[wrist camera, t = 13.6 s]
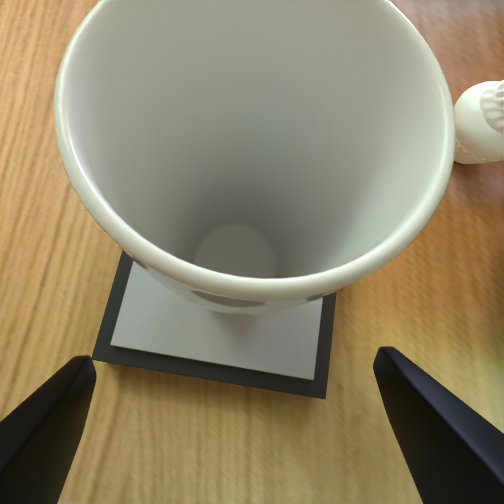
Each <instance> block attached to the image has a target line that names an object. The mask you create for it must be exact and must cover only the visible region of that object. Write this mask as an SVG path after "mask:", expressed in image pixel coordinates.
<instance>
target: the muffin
mask: <svg viewBox="0 0 504 504" xmlns="http://www.w3.org/2000/svg"><path fill="white" fill-rule="evenodd" d="M454 115H455V126H456V146H455V154H454V161H456V162H457V163H460V164H477V163H492V162H497V161H502V160H504V80H502V81H500V82H498V81H489V82H484V83H480V84H477V85H475V86H473V87H471V88H469V89H468V90H466V91H465V92H464V93H463V94H462V95H461V96H460V98H459V99H458V101H457V103H456V104H455V107H454Z"/></svg>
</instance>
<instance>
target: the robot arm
mask: <svg viewBox="0 0 504 504" xmlns="http://www.w3.org/2000/svg"><path fill="white" fill-rule="evenodd" d="M373 370H374V374H375V377H376V380H377V384H378V387H379V390H380V394H381V397H382V400H383V404H384V407H385V410H386V413H387V416H388V419H389V422H390V424H391V427H392V429H393V432H394V434H395V436H396V439H397V441H398V444H399V446H400V448H401V451H402V453H403V456H404V458H405V460H406V463H407V465H408V468H409V470H410V473H411V475H412V477H413V480H414V482H415V485H416V487H417V489H418V492H419V494H420V497H421V499H422V502H423V504H504V434H503V433H502V432H501V431H500V430H498V429H497V428H496V427H494V426H493V425H492V424H491V423H489V422H488V421H487V420H486V419H484V418H483V417H482V416H481V415H479V414H478V413H477V412H475V411H474V410H473V409H472V408H470V407H469V406H468V405H467V404H465V403H464V402H463V401H461V400H460V399H459V398H458V397H456V396H455V395H454V394H453V393H451V392H450V391H449V390H448V389H446V388H445V387H444V386H442V385H441V384H440V383H439V382H437V381H436V380H435V379H434V378H432V377H431V376H430V375H428V374H427V373H426V372H425V371H423V370H422V369H421V368H420V367H418V366H417V365H416V364H414V363H413V362H412V361H411V360H409V359H408V358H407V357H406V356H404V355H403V354H402V353H401V352H399V351H398V350H397V349H395V348H394V347H390V346H389V347H380V348H379V349H378V352H377V355H376V358H375V360H374V363H373ZM95 383H96V371H95V367H94V364H93V361H92V358H91V357H90V356H88V355H83V356H75V357H73V358H72V359H71V360H70V361H69V362H67V363H66V364H65V365H64V366H63V367H62V368H61V369H60V370H58V371H57V372H56V373H55V374H54V375H53V376H52V377H51V378H49V379H48V380H47V381H46V382H45V383H44V384H43V385H41V386H40V387H39V388H38V389H37V390H36V391H35V392H34V393H32V394H31V395H30V396H29V397H28V398H27V399H26V400H25V401H23V402H22V403H21V404H20V405H19V406H18V407H17V408H15V409H14V410H13V411H12V412H11V413H10V414H9V415H8V416H6V417H5V418H4V419H3V420H2V421H1V422H0V504H57V503H58V500H59V497H60V494H61V492H62V489H63V486H64V484H65V481H66V478H67V475H68V473H69V470H70V467H71V464H72V462H73V459H74V456H75V454H76V451H77V448H78V445H79V443H80V440H81V437H82V434H83V430H84V427H85V423H86V419H87V415H88V411H89V407H90V403H91V399H92V395H93V391H94V387H95Z"/></svg>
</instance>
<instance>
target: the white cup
mask: <svg viewBox="0 0 504 504" xmlns="http://www.w3.org/2000/svg"><path fill="white" fill-rule="evenodd" d="M53 118H54V130H55V136H56V141H57V146H58V151H59V154H60V157H61V160H62V163H63V166H64V169H65V172H66V174H67V176H68V178H69V180H70V182H71V184H72V187H73V189H74V191H75V192H76V194H77V195H78V197H79V199H80V200H81V202H82V204H83V205H84V207H85V208H86V210H87V211H88V212H89V213H90V215H91V216H92V217H93V218H94V220H95V221H96V222H97V224H98V225H99V226H100V227H101V228H102V229H103V230H104V231H105V232H106V233H107V234H108V235H109V236H110V237H111V238H112V239H113V240H114V241H115V242H116V243H117V244H118V245H119V246H120V247H121V248H122V249H123V250H124V251H125V252H126V253H127V254H128V255H129V256H130V257H131V258H132V259H133V260H134V261H135V262H136V263H137V264H138V265H139V266H140V267H141V268H142V269H143V270H144V271H145V272H147V273H148V274H149V275H150V276H151V277H153V278H154V279H155V280H156V281H157V282H159V283H160V284H161V285H163V286H164V287H165V288H167V289H168V290H170V291H171V292H173V293H174V294H176V295H178V296H179V297H181V298H183V299H185V300H187V301H189V302H190V303H193V304H195V305H197V306H200V307H202V308H205V309H208V310H211V311H214V312H218V313H223V314H228V315H238V316H258V315H267V314H274V313H278V312H283V311H287V310H291V309H294V308H297V307H300V306H303V305H306V304H309V303H311V302H314V301H316V300H318V299H321V298H323V297H325V296H327V295H329V294H332V293H334V292H336V291H338V290H340V289H342V288H344V287H346V286H348V285H349V284H351V283H353V282H355V281H358V280H360V279H362V278H364V277H366V276H368V275H369V274H371V273H373V272H375V271H376V270H378V269H380V268H381V267H383V266H384V265H386V264H387V263H388V262H390V261H391V260H392V259H394V258H395V257H396V256H398V255H399V254H400V253H401V252H402V251H403V250H404V249H405V248H406V247H407V246H408V245H409V244H411V243H412V242H413V240H414V239H415V238H416V237H417V236H418V235H419V233H420V232H421V231H422V230H423V229H424V227H425V226H426V225H427V223H428V222H429V220H430V219H431V217H432V216H433V214H434V213H435V211H436V209H437V207H438V205H439V203H440V201H441V199H442V197H443V195H444V192H445V190H446V187H447V184H448V181H449V179H450V175H451V171H452V166H453V162H454V154H455V146H456V126H455V115H454V109H453V104H452V99H451V95H450V91H449V88H448V85H447V82H446V79H445V77H444V74H443V72H442V69H441V67H440V65H439V63H438V61H437V59H436V57H435V55H434V53H433V52H432V50H431V48H430V47H429V45H428V44H427V42H426V41H425V39H424V38H423V36H422V35H421V34H420V33H419V31H418V30H417V29H416V27H415V26H414V25H413V24H412V23H411V22H410V20H409V19H408V18H407V17H406V16H405V15H404V14H403V13H402V12H401V11H400V10H399V9H398V8H397V7H396V6H395V5H394V4H392V3H391V2H390V1H389V0H100V1H99V2H98V3H97V4H96V5H95V6H94V7H93V8H92V9H91V11H90V12H89V13H88V14H87V15H86V17H85V18H84V19H83V21H82V22H81V24H80V25H79V26H78V28H77V29H76V31H75V33H74V35H73V36H72V38H71V40H70V42H69V44H68V46H67V48H66V51H65V53H64V55H63V58H62V60H61V64H60V67H59V71H58V74H57V78H56V84H55V91H54V103H53Z"/></svg>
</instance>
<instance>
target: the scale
mask: <svg viewBox="0 0 504 504" xmlns="http://www.w3.org/2000/svg"><path fill="white" fill-rule="evenodd" d="M335 301H336V292H334V293H332V294H329V295H327V296H325V297H323V298H321V299H318V300H316V301H314V302H311V303H309V304H306V305H303V306H300V307H297V308H294V309H291V310H287V311H283V312H278V313H274V314H267V315H258V316H238V315H228V314H223V313H218V312H214V311H211V310H208V309H205V308H202V307H200V306H197V305H195V304H193V303H190V302H189V301H187V300H185V299H183V298H181V297H179V296H178V295H176V294H174V293H173V292H171V291H170V290H168V289H167V288H165V287H164V286H163V285H161V284H160V283H159V282H157V281H156V280H155V279H154V278H153V277H151V276H150V275H149V274H148V273H147V272H145V271H144V270H143V269H142V268H141V267H140V266H139V265H138V264H137V263H136V262H135V261H134V260H133V259H132V258H131V257H130V256H129V255H128V254H127V253H126V252H125V251H124V250H122V254H121V257H120V261H119V264H118V268H117V271H116V275H115V278H114V282H113V285H112V289H111V292H110V295H109V299H108V302H107V306H106V309H105V313H104V316H103V320H102V323H101V327H100V330H99V334H98V337H97V340H96V344H95V347H94V351H93V354H92V360H97V361H103V362H109V363H115V364H120V365H126V366H132V367H138V368H144V369H150V370H156V371H162V372H167V373H173V374H179V375H185V376H191V377H197V378H203V379H209V380H214V381H220V382H226V383H232V384H238V385H244V386H250V387H256V388H262V389H267V390H273V391H279V392H285V393H291V394H297V395H303V396H309V397H314V398H320V399H326V389H327V380H328V370H329V360H330V350H331V340H332V330H333V321H334V311H335Z"/></svg>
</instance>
